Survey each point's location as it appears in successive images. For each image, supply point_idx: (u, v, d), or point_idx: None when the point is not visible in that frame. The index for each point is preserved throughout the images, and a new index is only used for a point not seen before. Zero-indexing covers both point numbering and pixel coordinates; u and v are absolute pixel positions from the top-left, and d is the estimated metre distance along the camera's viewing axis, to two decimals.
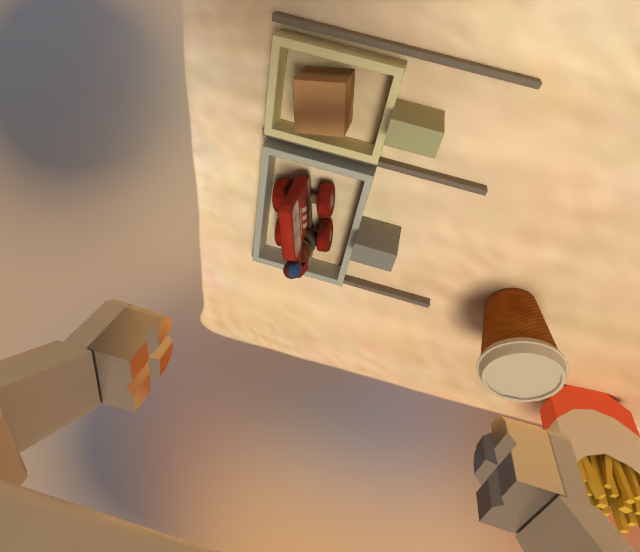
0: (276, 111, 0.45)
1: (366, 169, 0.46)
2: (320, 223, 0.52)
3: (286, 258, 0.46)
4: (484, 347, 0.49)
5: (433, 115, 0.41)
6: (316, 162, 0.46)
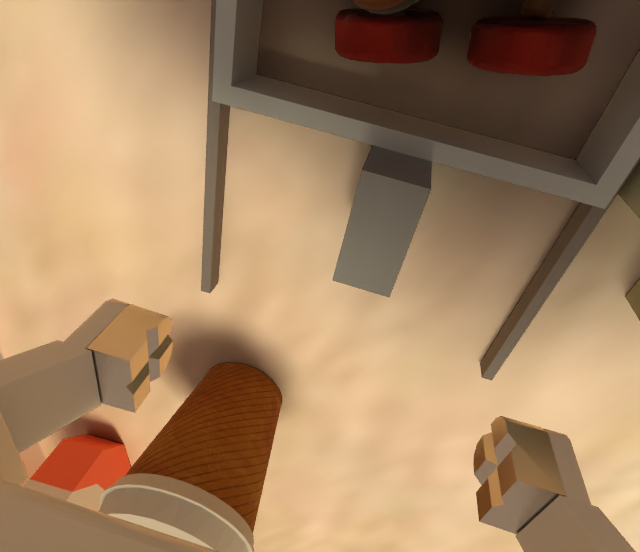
0: None
1: None
2: (441, 20, 0.15)
3: None
4: (192, 470, 0.23)
5: None
6: None
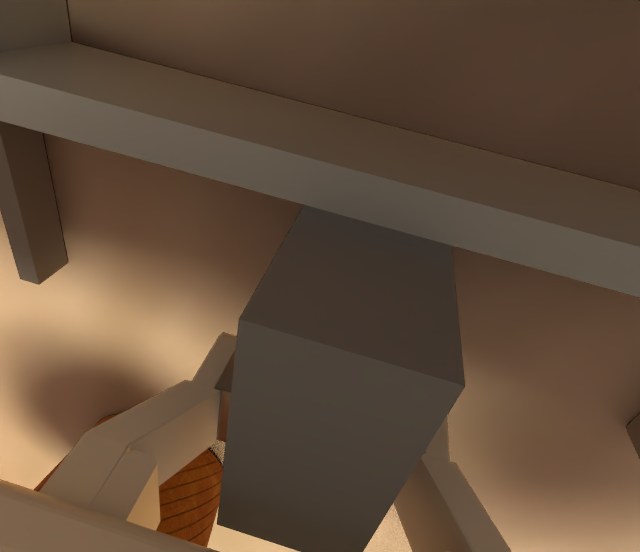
0: None
1: None
2: None
3: None
4: None
5: None
6: None
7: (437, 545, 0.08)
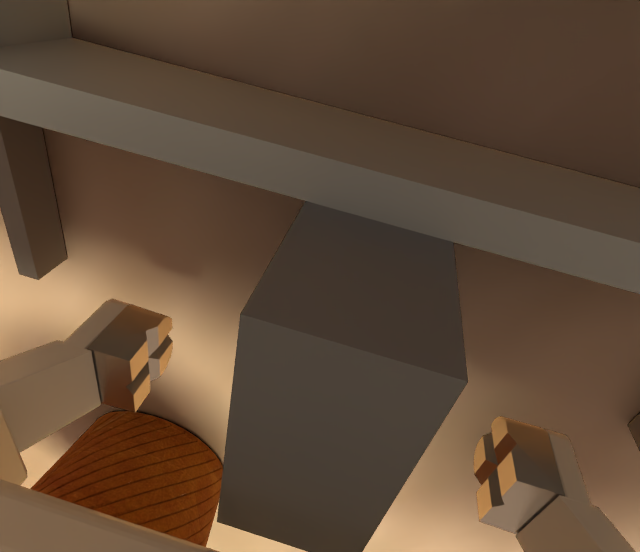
0: None
1: None
2: None
3: None
4: None
5: None
6: None
7: None
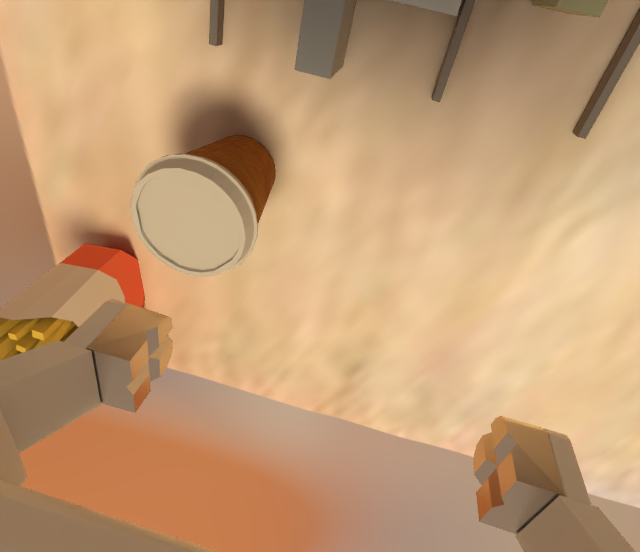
0: None
1: None
2: None
3: None
4: (208, 157, 0.30)
5: None
6: None
7: None
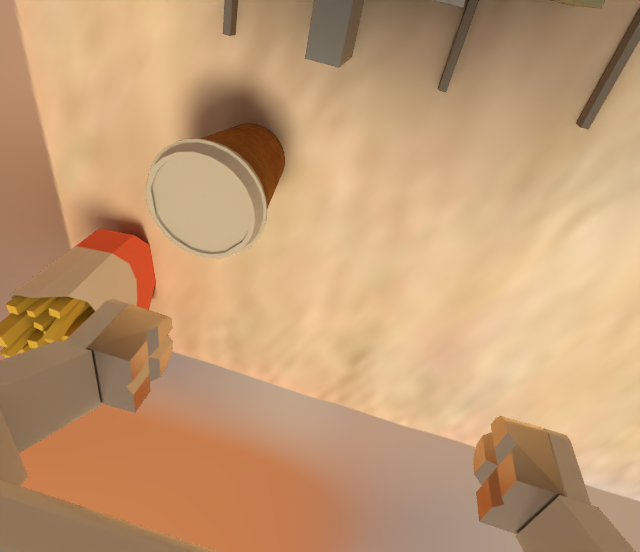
0: None
1: None
2: None
3: None
4: (220, 142, 0.31)
5: None
6: None
7: None
